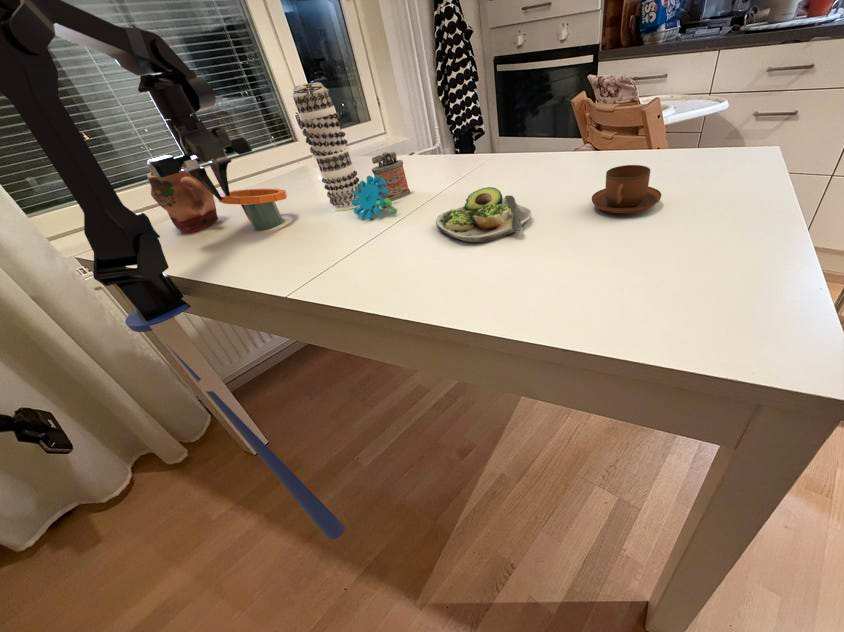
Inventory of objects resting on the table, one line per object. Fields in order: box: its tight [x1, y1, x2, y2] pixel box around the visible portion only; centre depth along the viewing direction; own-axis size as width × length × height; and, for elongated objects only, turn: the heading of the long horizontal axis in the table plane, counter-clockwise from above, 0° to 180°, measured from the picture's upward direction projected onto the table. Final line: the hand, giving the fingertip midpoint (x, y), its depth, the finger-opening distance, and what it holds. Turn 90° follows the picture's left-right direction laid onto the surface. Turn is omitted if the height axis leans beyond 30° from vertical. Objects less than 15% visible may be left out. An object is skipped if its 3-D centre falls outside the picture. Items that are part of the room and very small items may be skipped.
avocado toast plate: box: [435, 186, 532, 243], centre depth 74 cm, size 19×18×5 cm
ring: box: [218, 188, 288, 205], centre depth 91 cm, size 14×14×1 cm
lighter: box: [371, 151, 411, 202], centre depth 94 cm, size 8×3×10 cm, turn 130°
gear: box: [352, 175, 398, 220], centre depth 89 cm, size 11×6×10 cm
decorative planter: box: [146, 167, 219, 233], centre depth 98 cm, size 20×12×14 cm, turn 64°
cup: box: [240, 194, 284, 231], centre depth 93 cm, size 7×7×6 cm
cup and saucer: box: [591, 164, 662, 214], centre depth 71 cm, size 12×12×6 cm
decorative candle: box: [291, 81, 361, 212], centre depth 90 cm, size 9×9×25 cm
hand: (224, 198), depth 87 cm, fingers closed on ring, 1 cm apart
